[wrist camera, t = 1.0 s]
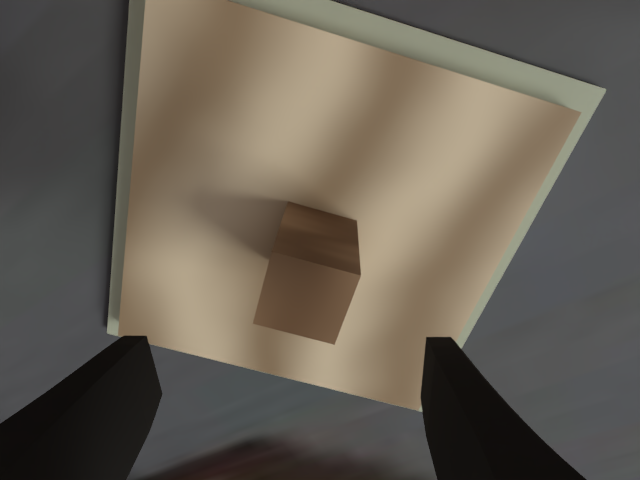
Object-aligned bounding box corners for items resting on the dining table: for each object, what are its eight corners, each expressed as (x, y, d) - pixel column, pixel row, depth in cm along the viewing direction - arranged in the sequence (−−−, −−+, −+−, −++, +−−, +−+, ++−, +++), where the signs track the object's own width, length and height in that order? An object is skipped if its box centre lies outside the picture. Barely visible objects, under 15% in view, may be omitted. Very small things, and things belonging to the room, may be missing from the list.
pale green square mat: (600, 88, 16) (606, 89, 16) (424, 406, 24) (425, 412, 24) (138, -61, 15) (133, -64, 15) (110, 328, 23) (107, 333, 22)
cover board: (568, 107, 16) (666, 139, 11) (415, 395, 23) (434, 493, 18) (159, -22, 15) (69, -49, 10) (126, 323, 22) (64, 407, 17)
